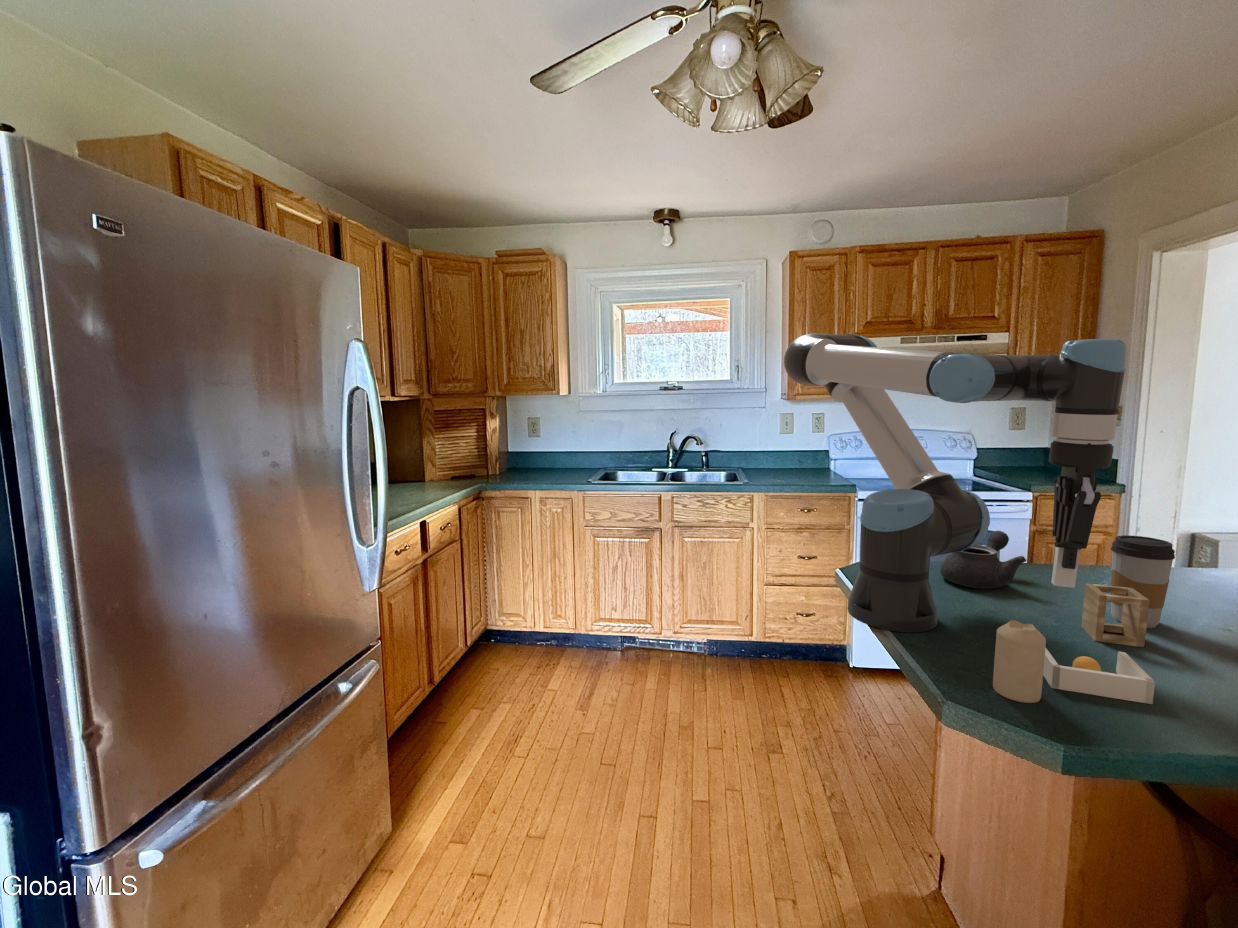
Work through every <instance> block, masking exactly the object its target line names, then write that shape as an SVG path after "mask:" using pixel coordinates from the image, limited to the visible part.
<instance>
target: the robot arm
mask: <svg viewBox="0 0 1238 928" xmlns="http://www.w3.org/2000/svg"><path fill="white" fill-rule="evenodd" d="M783 357H784V359H783V365H784V369H785V372H786V373H787V376H788V377H789V378H791V380H792V381H794V382H795V383H796V384H800V385H803V386H811V387H812V386H815V387H819V386H820V387H821V386H823V387H824V388H825V390H826V391H827V392H828V394H829V395H830V397H831V400H832V401H834V402H837V403H842V404H843V406H845V409H846V410H847V412H848V414H849V415H850V416H851V418H852V420H853V421H854V424H855V425H856V426H857V428H858V429H859V431H860V432H861V434H862V436H863V438H864V440H865V441H866V443H867V445H868V446H869V447H870V449H871V451H872V453H873V454H874V456H875V457H876V459H877V461H878V463H879V464H880V465H881V467H882V469H883V470H884V472H885V474H886V476H887V477H888V479H889V481H890V482H891V484H892V486H893V487H894V488H895V489H884V490H879V491H876V492H871V493H870V494H869V495H867V496H866V497H865V498H864V499H863V502H862V505H861V506H862V507H861V513H860V518H859V519H860V520H859V521H860V537H859V538H860V541H859V566H858V567H859V569H858V574H857V576H856V579H855V581H854V584H853V585H852V588H851V591H850V593H849V596H848V599H847V612H848V614H849V615H850V617H852V618H853V619H855V620H856V621H858V622H861V623H862V624H865V625H868V626H870V627H873V628H878V629H880V630H881V629H882V630H886V631H890V632H891V631H892V632H899V633H921V632H927V631H931V630H933V629H934V628H936V627H937V625H938V615H939V614H938V613H939V611H938V608H937V604H936V601H935V597H934V595H933V591H932V587H931V584H930V580H929V579H930V562H931V557H935V556H942V555H946V554H950V553H951V552H961V551H964V550H965V549H967V548H971V547H973V546H975V545H979V544H980V543H981V542H982V541H983V540H984V539H985V537H986V536H987V534H988V533H989V532H988V531H989V526H990V524H991V515H990V511H989V509H988V506H987V504H986V503H985V500H983V499H982V498H981V497H980V496H979V495H977V494H976V493H975V492H972V491H969V490H967V489H964V488H963V489H962V488H961V487H960V485H959V484H958V483H957V480H955V478H954V476H953V475H952V474H951V473H949V472H948V473H947V472H943V471H939V469H938V468H937V466H936V464H935V463H934V462H933V460H932V459H931V458H930V455H928V452H926V450H925V449H924V447H923V445H922V444H921V441H919V439H918V438H917V435H915V433H914V432H913V430H912V429H911V428H910V427H911V426H910V425H909V424H908V423H907V421H906V420H905V418H904V417H903V415H902V413H901V412H900V411H899V408H897V406H896V405H895V403H894V402H893V400H892V399H891V397H890V395H889V394H888V393H887V391H892V392H893V391H894V392H899V393H906V394H914V395H921V396H928V397H935V398H939V399H940V400H942V401H945V402H951V403H960V404H968V403H972V402H974V403H975V402H1003V401H1005V402H1006V401H1007V402H1009V401H1023V402H1024V401H1026V402H1027V401H1028V402H1030V401H1033V402H1037V401H1038V402H1039V401H1040V402H1055V406H1054V407H1055V408H1054V414H1053V419H1052V427H1051V428H1052V429H1051V437H1053V438H1054V439H1055V440H1053V441H1052V442H1050V445H1049V446H1050V449H1049V456H1048V462H1049V463H1050V464H1051V465H1054V466H1057V467H1062V468H1061V470H1060V471H1061V472H1060V475H1058V476H1057V477H1054V479H1053V481H1052V482H1053V489H1054V496H1053V512H1052V513H1053V515H1052V516H1053V517H1052V531H1051V533H1052V534H1051V535H1052V536H1053V537H1054V547H1055V549H1054V550H1055V551H1054V559H1053V565H1052V573H1051V574H1052V575H1051V580H1050V582H1051V584H1052V585H1053V586H1055V587H1062V588H1063V587H1064V588H1071V589H1076V583H1077V575H1078V567H1079V560H1080V553H1081V550H1082V549H1085V550H1086V549H1087V547H1088V543H1089V539H1090V536H1091V530H1092V527H1093V524H1094V519H1095V515H1096V511H1097V507H1098V504H1099V502H1100V501H1101V498H1102V494H1101V492H1100V491H1097V485H1098V482H1097V479H1096V477H1095V476H1096V475H1095V473H1096V472H1095V471H1096V470H1098V469H1099V470H1105V469H1108V468H1110V467H1111V466H1112V461H1113V454H1114V447H1115V446H1113V444H1112V443H1109V442H1111V441H1113V440H1115V437H1116V429H1117V428H1116V427H1120V426H1121V423H1122V421H1120V420H1118V418H1119V417H1118V416H1119V411H1120V409H1119V408H1120V402H1121V395H1122V389H1123V383H1124V379H1125V373H1126V371H1127V368H1126V359H1127V345H1126V342H1124V341H1122V340H1121V339H1115V338H1095V339H1094V338H1092V339H1091V338H1090V339H1089V338H1088V339H1077V340H1076V339H1075V340H1068V341H1066V342H1064V343H1063V345H1062V348H1061V351H1060V353H1053V354H1025V355H1023V354H1022V355H1021V354H1020V355H1019V354H1016V355H1015V354H984V353H983V354H982V353H980V354H979V353H967V352H945V351H937V350H934V351H933V350H921V349H920V350H918V349H907V348H905V349H903V348H891V347H890V348H889V347H878V346H877V344H876V343H875V342H874V341H873V340H871V339H869V338H868V337H866V336H862V335H857V334H854V333H846V334H836V333H835V334H833V333H832V334H831V333H815V332H814V333H806V334H803V335H801V336H798V337H797V338H795V339H794V340H793V341H792V342H791V343H790V344H789V345H788V347H787V349H786V351H785V353H784V356H783Z"/></svg>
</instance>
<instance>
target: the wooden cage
mask: <svg viewBox="0 0 1238 928" xmlns="http://www.w3.org/2000/svg"><path fill="white" fill-rule="evenodd" d="M1108 593H1109V594H1108ZM1111 593H1117V594H1124V596H1117V595H1111ZM1083 595H1084V596H1083V605H1082V606H1083V607H1082V614H1081V615H1082V617H1081V625H1080V627H1081V628H1082V629H1083V630H1084V631H1085V632H1086V633H1087V635H1088V636H1089V637H1090V638H1092V640H1093V641H1094V642H1102V643H1106V644H1107V643H1109V644H1115V645H1123V646H1131V647H1132V646H1133V647H1140V648H1144V647H1145V644H1146V635H1147V628H1146V627H1147V619H1148V610H1149V601H1150V600H1148V599H1147V598H1146V597H1144V596H1143V595H1141V594H1140V593H1139V592H1137V591H1136V590H1134V589H1133V588H1127V587H1117V586H1111V585H1106V584H1097V583H1096V584H1094V583H1085V586H1084V594H1083ZM1111 602H1114V603H1123V610H1122V619H1121V622H1120V624H1116V623H1108V622H1105V621H1106V610H1107V603H1111ZM1104 632H1108V633H1104ZM1109 632H1110V633H1111V634H1110V633H1109ZM1113 633H1118V634H1122V635H1118V634H1113Z"/></svg>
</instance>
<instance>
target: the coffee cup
mask: <svg viewBox="0 0 1238 928" xmlns="http://www.w3.org/2000/svg"><path fill="white" fill-rule="evenodd" d="M1110 550H1111V570H1110V586H1117V587H1127V588H1133V589H1134V590H1136V591H1137V592H1139V593H1140V594H1141V595H1143V596H1144V597H1146V598H1147V599H1148V600H1150V601H1149V610H1148V619H1147V627H1146V629H1153V628H1156V627H1157V625H1159V624H1160V623H1161V622H1160V621H1161V617H1162V611H1163V608H1164V605H1165V601H1166V596H1167V593H1168V588H1169V583H1170V575H1171V571H1172V567H1173V563H1174V562H1173V561H1174V560H1175V559H1176V556H1175V553H1176V550H1175V549H1174V548H1173V543H1172V542H1170V541H1168V540H1167V541H1166V540H1165V539H1164V540H1163V539H1159V538H1153V537H1149V536H1140V535H1129V534H1127V535H1117V536H1115V539H1114V541H1112V542H1111V548H1110ZM1110 595H1117V596H1124V594H1117V593H1110ZM1122 610H1123V603H1114V602H1110V614H1111V616H1112V618H1113V619H1114V620H1115V621H1118V622H1119V623H1121V619H1122Z"/></svg>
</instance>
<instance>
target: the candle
mask: <svg viewBox="0 0 1238 928" xmlns="http://www.w3.org/2000/svg"><path fill="white" fill-rule="evenodd" d="M995 637H996V639H995V648H994V649H995V651H994V661H993V663H994V664H993V675H992V687H993V688H992V689H993V690H994V691H995V692H996V693H997V694H999V695H1000V696H1002V697H1004V698H1007V699H1008V700H1011V701H1015V702H1019V703H1025V704H1026V703H1027V704H1033V703H1034V704H1035V703H1039V702H1040V700H1041V699H1042V694H1043V693H1042V690H1043V682H1044V679H1043V678H1044V676H1043V670H1044V659H1045V648H1046V649H1047V647H1046V645H1047V639H1046V637H1045V636H1044V635H1043V634H1042V633H1041V632H1040V631H1039V630H1038V629H1037V628H1036V627H1035V626H1034V625H1033V624H1032V623H1021V622H1020V621H1018V620H1015V619H1014V620H1013V619H1012V620H1010V621H1009V622H1007V623H1005V624H1002V625H1001V626H999V627H998V628H997V629H996V635H995Z"/></svg>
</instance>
